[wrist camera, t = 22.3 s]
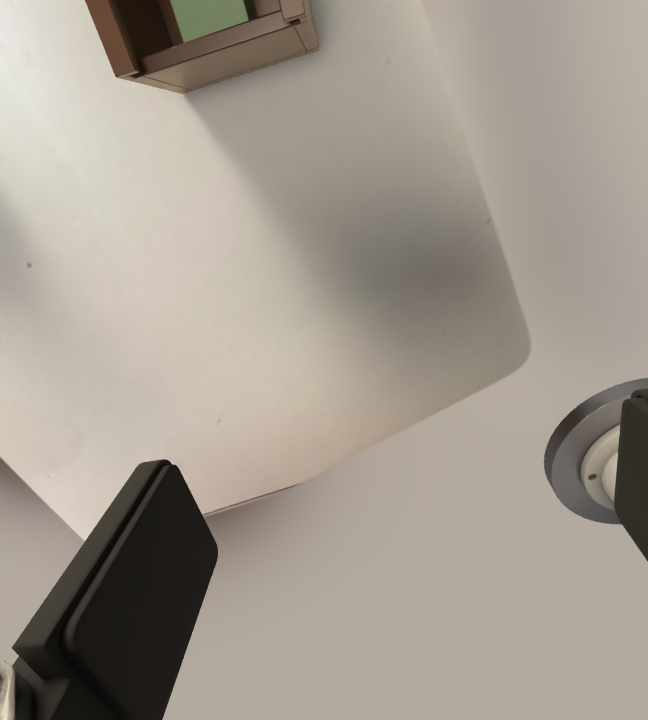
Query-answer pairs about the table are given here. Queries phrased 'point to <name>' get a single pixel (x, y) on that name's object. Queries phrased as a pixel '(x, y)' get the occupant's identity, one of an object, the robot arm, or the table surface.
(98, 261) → the table surface
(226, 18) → the block
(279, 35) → the box
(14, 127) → the table surface
